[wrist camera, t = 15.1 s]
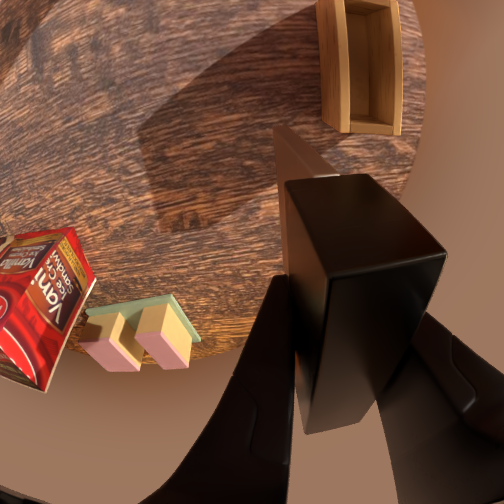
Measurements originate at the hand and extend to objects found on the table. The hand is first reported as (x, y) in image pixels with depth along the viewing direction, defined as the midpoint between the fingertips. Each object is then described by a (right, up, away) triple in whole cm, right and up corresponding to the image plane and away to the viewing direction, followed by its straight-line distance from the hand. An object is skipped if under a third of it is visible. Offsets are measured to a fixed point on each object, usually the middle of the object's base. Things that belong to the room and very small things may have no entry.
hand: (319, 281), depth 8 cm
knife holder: (+4, +13, +7) cm, 16 cm away
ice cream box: (-28, 0, +16) cm, 32 cm away
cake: (-18, -8, +21) cm, 29 cm away
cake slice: (-11, -7, +20) cm, 24 cm away
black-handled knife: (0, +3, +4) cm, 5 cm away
